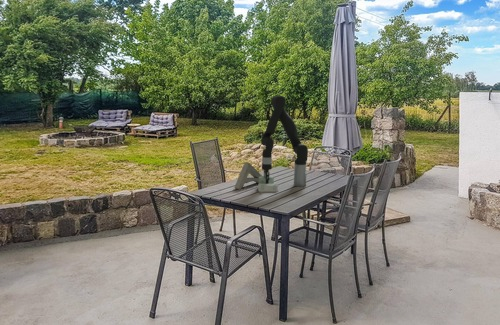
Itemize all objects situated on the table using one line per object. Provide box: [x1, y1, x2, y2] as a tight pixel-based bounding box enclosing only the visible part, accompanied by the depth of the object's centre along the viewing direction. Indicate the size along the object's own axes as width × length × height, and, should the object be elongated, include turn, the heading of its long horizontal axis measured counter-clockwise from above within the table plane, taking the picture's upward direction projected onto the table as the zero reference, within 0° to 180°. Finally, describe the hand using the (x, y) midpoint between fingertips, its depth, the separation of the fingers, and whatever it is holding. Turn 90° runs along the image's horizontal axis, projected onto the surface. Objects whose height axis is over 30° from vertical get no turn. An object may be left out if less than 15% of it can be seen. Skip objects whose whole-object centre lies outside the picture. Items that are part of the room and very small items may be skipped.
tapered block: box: [258, 176, 275, 184], centre depth 292 cm, size 11×3×8 cm, turn 96°
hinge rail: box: [257, 183, 279, 193], centre depth 284 cm, size 14×8×5 cm, turn 96°
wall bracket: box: [233, 161, 264, 190], centre depth 300 cm, size 22×4×30 cm
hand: (266, 183), depth 292 cm, fingers open, 8 cm apart
